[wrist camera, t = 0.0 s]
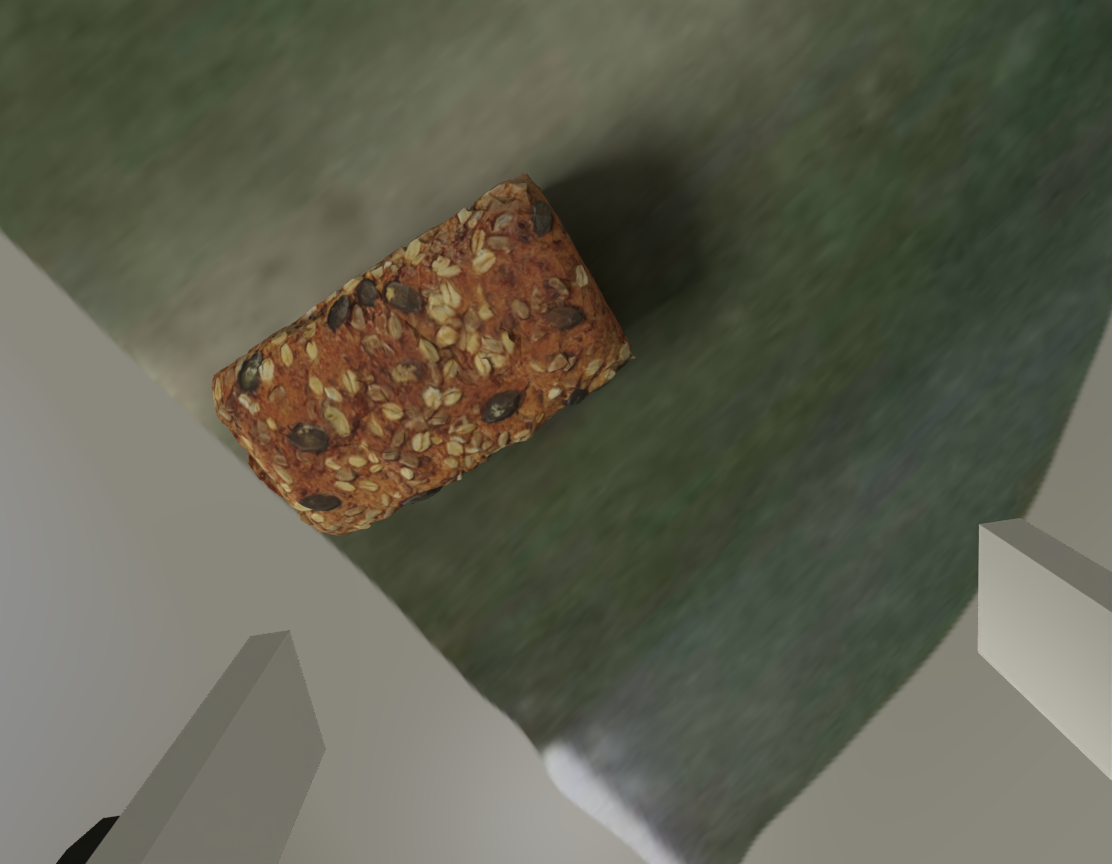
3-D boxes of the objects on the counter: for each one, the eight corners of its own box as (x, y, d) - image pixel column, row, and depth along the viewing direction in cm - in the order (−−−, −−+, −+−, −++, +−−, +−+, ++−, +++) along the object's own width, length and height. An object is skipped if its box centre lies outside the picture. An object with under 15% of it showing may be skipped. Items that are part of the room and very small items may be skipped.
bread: (532, 177, 37) (528, 158, 28) (628, 346, 40) (655, 381, 30) (254, 354, 40) (163, 393, 30) (362, 502, 42) (310, 581, 33)
